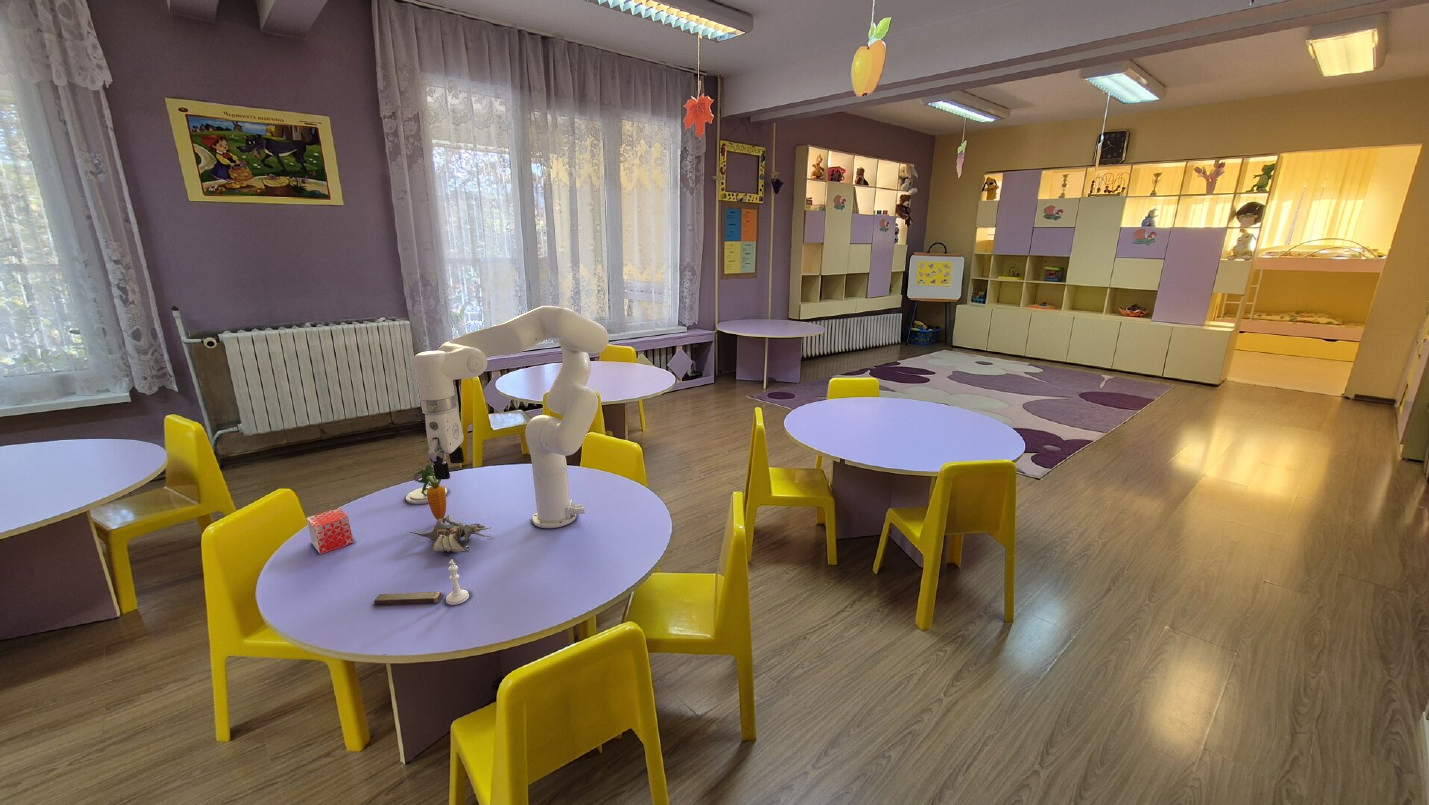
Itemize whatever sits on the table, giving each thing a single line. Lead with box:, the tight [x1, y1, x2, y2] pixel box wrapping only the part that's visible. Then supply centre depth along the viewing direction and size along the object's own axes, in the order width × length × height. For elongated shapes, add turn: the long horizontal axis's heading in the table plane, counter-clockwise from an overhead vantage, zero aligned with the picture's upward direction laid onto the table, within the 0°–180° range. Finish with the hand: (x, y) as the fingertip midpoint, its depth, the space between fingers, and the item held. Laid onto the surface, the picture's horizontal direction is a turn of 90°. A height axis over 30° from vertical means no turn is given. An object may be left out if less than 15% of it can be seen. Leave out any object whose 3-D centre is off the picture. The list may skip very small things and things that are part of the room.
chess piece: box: [445, 559, 470, 606], centre depth 130 cm, size 5×5×10 cm
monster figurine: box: [405, 462, 448, 505], centre depth 183 cm, size 12×12×10 cm
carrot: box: [427, 475, 447, 522], centre depth 165 cm, size 5×5×15 cm
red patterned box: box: [306, 507, 355, 555], centre depth 155 cm, size 8×8×8 cm
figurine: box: [409, 514, 492, 554], centre depth 153 cm, size 20×6×17 cm
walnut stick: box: [373, 590, 443, 606], centre depth 130 cm, size 14×3×1 cm, turn 93°
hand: (450, 470), depth 139 cm, fingers open, 9 cm apart
